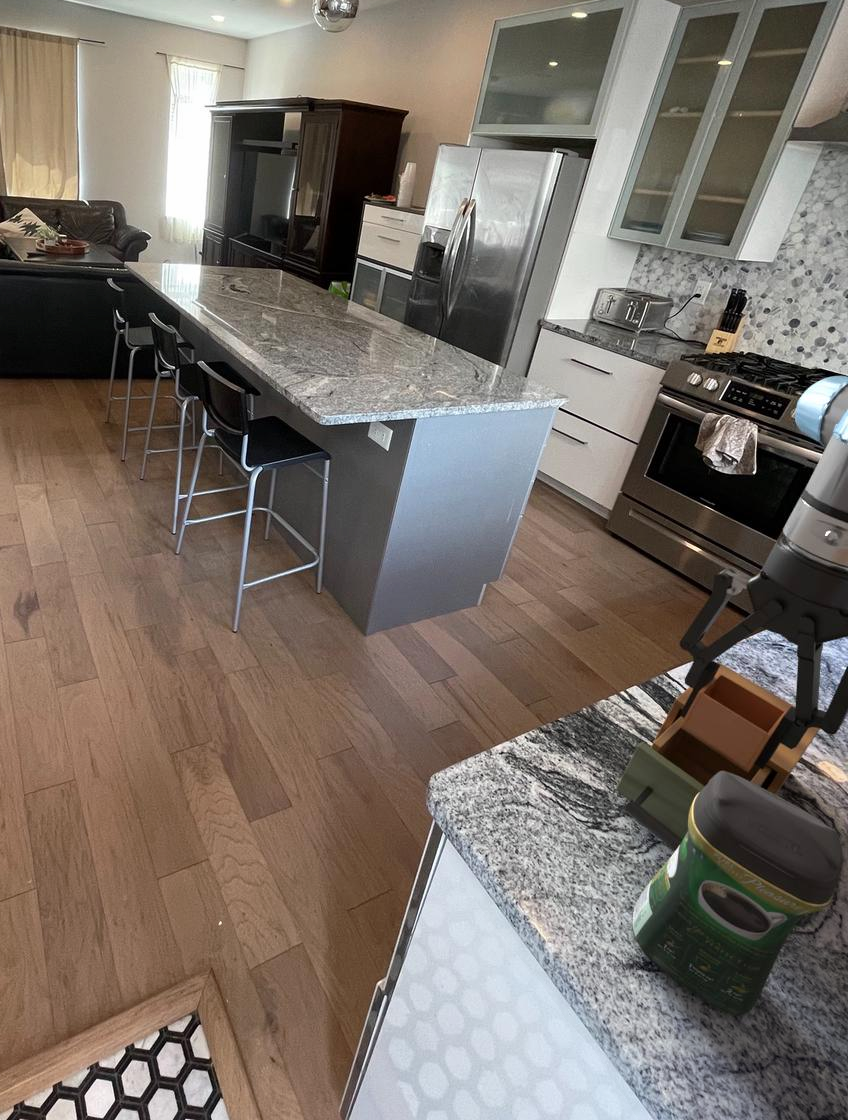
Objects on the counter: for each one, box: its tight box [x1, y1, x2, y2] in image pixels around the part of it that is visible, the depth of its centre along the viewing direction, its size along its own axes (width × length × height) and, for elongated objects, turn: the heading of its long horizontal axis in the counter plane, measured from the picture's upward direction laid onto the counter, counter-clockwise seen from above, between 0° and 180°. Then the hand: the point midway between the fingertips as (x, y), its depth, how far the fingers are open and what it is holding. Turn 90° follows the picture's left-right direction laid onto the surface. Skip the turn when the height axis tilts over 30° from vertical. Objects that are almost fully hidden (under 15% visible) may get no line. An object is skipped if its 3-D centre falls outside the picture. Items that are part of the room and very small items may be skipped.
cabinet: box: [652, 661, 821, 796], centre depth 76 cm, size 14×12×9 cm
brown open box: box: [680, 672, 786, 772], centre depth 66 cm, size 6×6×5 cm
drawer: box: [615, 716, 773, 852], centre depth 68 cm, size 17×10×7 cm, turn 127°
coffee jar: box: [631, 771, 844, 1016], centre depth 53 cm, size 10×8×19 cm
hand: (724, 735), depth 67 cm, fingers closed on brown open box, 6 cm apart
